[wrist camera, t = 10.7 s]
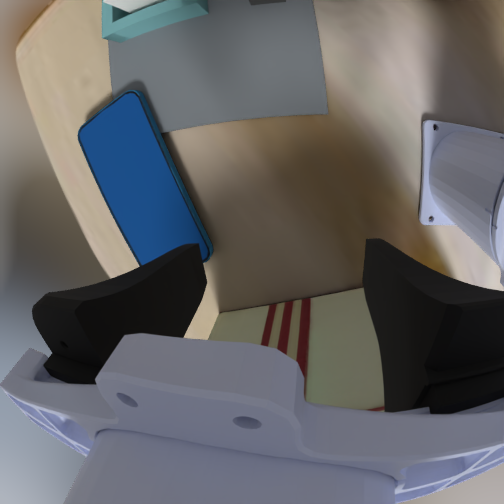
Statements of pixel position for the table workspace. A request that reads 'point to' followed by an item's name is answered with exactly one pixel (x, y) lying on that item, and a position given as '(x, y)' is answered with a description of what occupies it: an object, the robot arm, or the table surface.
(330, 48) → the table surface
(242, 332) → the gift box
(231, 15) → the board
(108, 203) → the smartphone
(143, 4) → the connector plug
